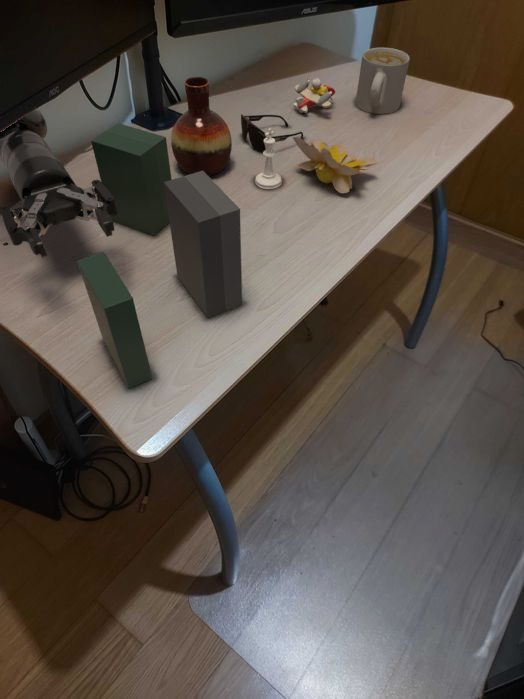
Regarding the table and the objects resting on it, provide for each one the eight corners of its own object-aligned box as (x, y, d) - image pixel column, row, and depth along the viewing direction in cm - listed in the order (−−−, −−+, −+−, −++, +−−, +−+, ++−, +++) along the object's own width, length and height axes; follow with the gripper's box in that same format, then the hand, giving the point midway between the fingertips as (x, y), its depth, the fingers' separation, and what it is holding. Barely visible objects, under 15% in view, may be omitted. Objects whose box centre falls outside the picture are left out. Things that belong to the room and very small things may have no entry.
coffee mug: (366, 90, 121) (373, 44, 114) (406, 101, 118) (416, 53, 110) (341, 112, 114) (348, 64, 106) (383, 124, 111) (393, 75, 103)
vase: (165, 159, 100) (154, 75, 88) (218, 146, 103) (213, 64, 92) (187, 187, 94) (177, 100, 82) (242, 173, 97) (240, 88, 85)
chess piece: (249, 180, 95) (249, 127, 88) (270, 172, 97) (272, 119, 90) (265, 192, 93) (266, 139, 85) (287, 183, 95) (290, 130, 87)
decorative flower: (393, 176, 93) (392, 126, 85) (348, 210, 91) (342, 162, 83) (335, 149, 102) (330, 101, 94) (293, 179, 99) (283, 132, 91)
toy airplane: (334, 102, 117) (338, 72, 112) (329, 120, 111) (333, 90, 106) (294, 98, 118) (296, 68, 113) (288, 116, 112) (289, 85, 107)
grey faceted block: (207, 318, 72) (198, 222, 60) (177, 277, 78) (163, 181, 66) (242, 304, 74) (240, 208, 62) (210, 265, 80) (202, 170, 67)
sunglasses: (232, 134, 106) (234, 109, 103) (280, 128, 112) (284, 104, 108) (258, 157, 100) (261, 132, 97) (308, 150, 106) (312, 125, 102)
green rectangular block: (154, 236, 84) (140, 155, 74) (110, 220, 87) (90, 140, 76) (176, 216, 88) (166, 136, 77) (134, 201, 91) (118, 122, 80)
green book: (128, 389, 64) (103, 308, 53) (103, 342, 69) (76, 260, 58) (152, 378, 65) (133, 298, 54) (126, 333, 70) (104, 251, 59)
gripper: (-21, 169, 69) (8, 233, 60) (82, 143, 74) (124, 199, 65) (0, 216, 75) (29, 281, 66) (95, 189, 80) (134, 246, 71)
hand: (76, 240), depth 66 cm, fingers open, 8 cm apart
